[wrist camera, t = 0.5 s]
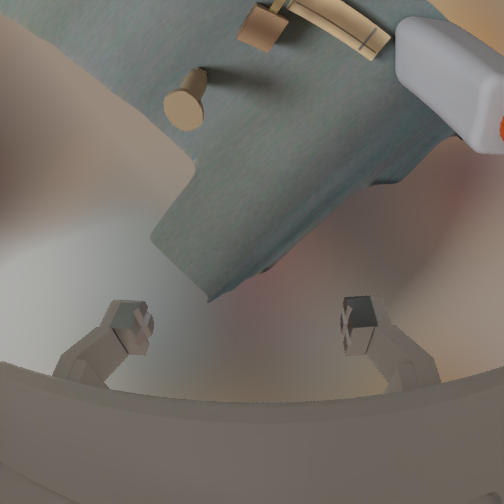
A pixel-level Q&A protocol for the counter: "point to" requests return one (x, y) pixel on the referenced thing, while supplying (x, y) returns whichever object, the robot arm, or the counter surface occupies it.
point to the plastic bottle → (454, 78)
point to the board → (343, 24)
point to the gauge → (263, 26)
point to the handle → (187, 101)
